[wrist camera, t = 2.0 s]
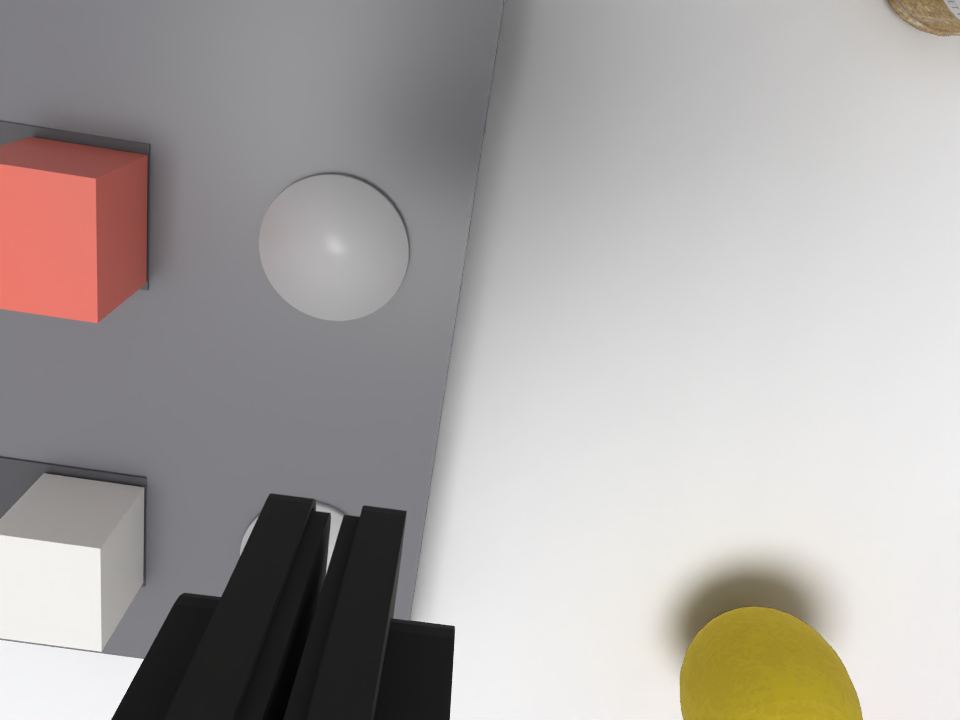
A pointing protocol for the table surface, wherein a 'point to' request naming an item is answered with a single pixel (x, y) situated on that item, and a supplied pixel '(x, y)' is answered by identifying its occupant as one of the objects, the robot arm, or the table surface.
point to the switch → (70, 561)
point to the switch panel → (252, 265)
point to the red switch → (71, 228)
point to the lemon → (764, 671)
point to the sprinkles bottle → (930, 15)
